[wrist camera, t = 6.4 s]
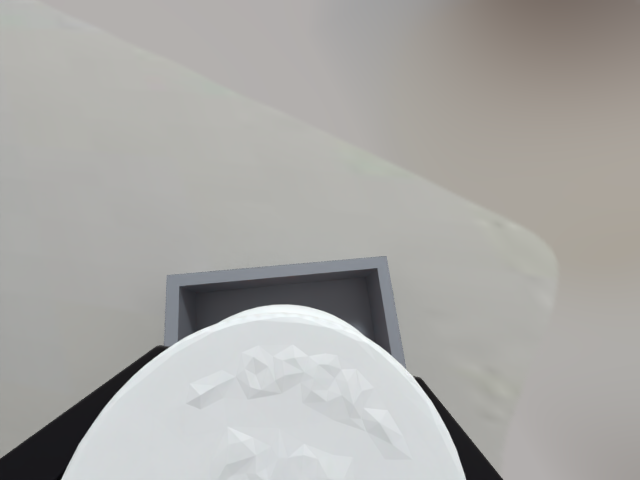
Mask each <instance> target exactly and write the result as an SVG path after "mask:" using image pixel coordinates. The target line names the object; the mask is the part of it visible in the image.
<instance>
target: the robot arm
mask: <svg viewBox="0 0 640 480" xmlns="http://www.w3.org/2000/svg"><path fill="white" fill-rule="evenodd" d="M169 347H170V346H162V345H159V346H156V347H155V348H153V349H152V350H150V351H149V352H148V353H146V354H145V355H144V356H142V357H141V358H139V359H138V360H137V361H135V362H134V363H132V364H131V365H130V366H128V367H127V368H125V369H124V370H123V371H121V372H120V373H119V374H117V375H116V376H114V377H113V378H112V379H110V380H109V381H107V382H106V383H105V384H103V385H102V386H100V387H99V388H98V389H96V390H95V391H94V392H92V393H91V394H89V395H88V396H87V397H85V398H84V399H82V400H81V401H80V402H78V403H77V404H76V405H74V406H73V407H71V408H70V409H69V410H67V411H66V412H64V413H63V414H62V415H60V416H59V417H57V418H56V419H55V420H53V421H52V422H51V423H49V424H48V425H46V426H45V427H44V428H42V429H41V430H39V431H38V432H37V433H35V434H34V435H32V436H31V437H30V438H28V439H27V440H26V441H24V442H23V443H21V444H20V445H19V446H17V447H16V448H14V449H13V450H12V451H10V452H9V453H8V454H6V455H5V456H3V457H2V458H1V459H0V480H61V479H62V477H63V475H64V473H65V471H66V469H67V466H68V464H69V463H70V461H71V459H72V457H73V455H74V453H75V451H76V449H77V447H78V445H79V443H80V442H81V440H82V439H83V437H84V436H85V434H86V433H87V431H88V430H89V428H90V427H91V426H92V424H93V423H94V421H95V420H96V418H97V417H98V416H99V414H100V413H101V411H102V410H103V409H104V407H105V406H106V405H107V404H108V402H109V401H110V400H111V399H112V398H113V397H114V395H115V394H116V393H117V392H118V391H119V390H120V389H121V388H122V387H123V386H124V385H125V384H126V383H127V382H128V381H129V380H130V379H131V378H132V377H133V376H134V375H135V374H136V373H137V372H138V371H139V370H140V369H141V368H143V367H144V366H145V365H146V364H147V363H149V362H150V361H151V360H153V359H154V358H155V357H156V356H158V355H159V354H160V353H162V352H163V351H165V350H166V349H168V348H169ZM413 377H414V379H415V380H416V381H417V383H418V384H419V385H420V387H421V388H422V389H423V391H424V392H425V393H426V395H427V396H428V397H429V399H430V400H431V401H432V403H433V405H434V406H435V408H436V410H437V412H438V413H439V415H440V417H441V419H442V420H443V422H444V424H445V426H446V428H447V430H448V432H449V434H450V436H451V438H452V441H453V443H454V445H455V447H456V450H457V453H458V456H459V459H460V462H461V465H462V468H463V471H464V474H465V477H466V480H503V479H502V478H501V476H500V475H499V474H498V473H497V471H496V470H495V469H494V468H493V466H492V465H491V464H490V463H489V461H488V460H487V459H486V458H485V457H484V455H483V454H482V453H481V452H480V450H479V449H478V448H477V447H476V445H475V444H474V443H473V442H472V440H471V439H470V438H469V437H468V435H467V434H466V433H465V432H464V431H463V429H462V428H461V427H460V426H459V424H458V423H457V422H456V421H455V419H454V418H453V417H452V416H451V414H450V413H449V412H448V411H447V410H446V408H445V407H444V406H443V405H442V403H441V402H440V401H439V400H438V398H437V397H436V396H435V395H434V393H433V392H432V391H431V390H430V388H429V387H428V386H427V385H426V384H425V382H424V381H423V380H422V379H421V378H419V377H415V376H413Z"/></svg>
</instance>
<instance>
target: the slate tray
mask: <svg viewBox="0 0 640 480" xmlns="http://www.w3.org/2000/svg"><path fill="white" fill-rule="evenodd" d="M287 304H289V305H300V306H306V307H310V308H314V309H318V310H321V311H324V312H327V313H329V314H332V315H334V316H336V317H338V318H340V319H341V320H343V321H345V322H347V323H348V324H350V325H351V326H353V327H354V328H356V329H357V330H358V331H359V332H361V333H362V334H363V335H364V336H365V337H367V338H368V339H370V340H371V341H373V342H374V343H376V344H378V345H379V346H380V347H382V348H383V349H384V350H385V351H387V352H388V353H389V354H390V355H391V356H392V357H393V358H395V359H396V360H397V361H398V362H399V363H400V364H401V365H402V366H403V367H404V368H405V369H406V365H405V359H404V354H403V348H402V342H401V337H400V331H399V325H398V319H397V314H396V308H395V302H394V297H393V291H392V285H391V280H390V274H389V268H388V262H387V257H386V256H381V257H370V258H358V259H347V260H335V261H324V262H312V263H301V264H289V265H278V266H266V267H255V268H244V269H232V270H221V271H209V272H198V273H186V274H175V275H167V285H166V310H165V336H164V346H170V347H171V346H172V345H174V344H175V343H177V342H179V341H180V340H182V339H183V338H185V337H187V336H189V335H191V334H193V333H195V332H197V331H199V330H201V329H204V328H206V327H209V326H212V325H214V324H217V323H219V322H220V321H222V320H224V319H226V318H228V317H230V316H233V315H235V314H237V313H240V312H243V311H245V310H249V309H253V308H257V307H262V306H268V305H287Z"/></svg>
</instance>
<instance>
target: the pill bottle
mask: <svg viewBox="0 0 640 480" xmlns="http://www.w3.org/2000/svg"><path fill="white" fill-rule="evenodd" d="M61 480H466V477H465V474H464V471H463V468H462V465H461V462H460V459H459V456H458V453H457V450H456V447H455V445H454V443H453V441H452V438H451V436H450V434H449V432H448V430H447V428H446V426H445V424H444V422H443V420H442V419H441V417H440V415H439V413H438V412H437V410H436V408H435V406H434V405H433V403H432V401H431V400H430V399H429V397H428V396H427V395H426V393H425V392H424V391H423V389H422V388H421V387H420V385H419V384H418V383H417V381H416V380H415V379H414V377H413V376H412V375H411V374H410V373H409V372H408V371H407V370H406V369H405V368H404V367H403V366H402V365H401V364H400V363H399V362H398V361H397V360H396V359H395V358H393V357H392V356H391V355H390V354H389V353H388V352H387V351H385V350H384V349H383V348H382V347H380V346H379V345H378V344H376V343H374V342H373V341H371V340H370V339H368V338H367V337H365V336H364V335H363V334H362V333H361V332H359V331H358V330H357V329H356V328H354V327H353V326H351V325H350V324H348V323H347V322H345V321H343V320H341V319H340V318H338V317H336V316H334V315H332V314H329V313H327V312H324V311H321V310H318V309H314V308H310V307H306V306H300V305H289V304H287V305H268V306H262V307H257V308H253V309H249V310H245V311H243V312H240V313H237V314H235V315H233V316H230V317H228V318H226V319H224V320H222V321H220V322H219V323H217V324H214V325H212V326H209V327H206V328H204V329H201V330H199V331H197V332H195V333H193V334H191V335H189V336H187V337H185V338H183V339H182V340H180V341H179V342H177V343H175V344H174V345H172V346H171V347H169V348H168V349H166V350H165V351H163V352H162V353H160V354H159V355H158V356H156V357H155V358H154V359H153V360H151V361H150V362H149V363H147V364H146V365H145V366H144V367H143V368H141V369H140V370H139V371H138V372H137V373H136V374H135V375H134V376H133V377H132V378H131V379H130V380H129V381H128V382H127V383H126V384H125V385H124V386H123V387H122V388H121V389H120V390H119V391H118V392H117V393H116V394H115V395H114V397H113V398H112V399H111V400H110V401H109V402H108V404H107V405H106V406H105V407H104V409H103V410H102V411H101V413H100V414H99V416H98V417H97V418H96V420H95V421H94V423H93V424H92V426H91V427H90V428H89V430H88V431H87V433H86V434H85V436H84V437H83V439H82V440H81V442H80V443H79V445H78V447H77V449H76V451H75V453H74V455H73V457H72V459H71V461H70V463H69V464H68V466H67V469H66V471H65V473H64V475H63V477H62V479H61Z"/></svg>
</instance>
